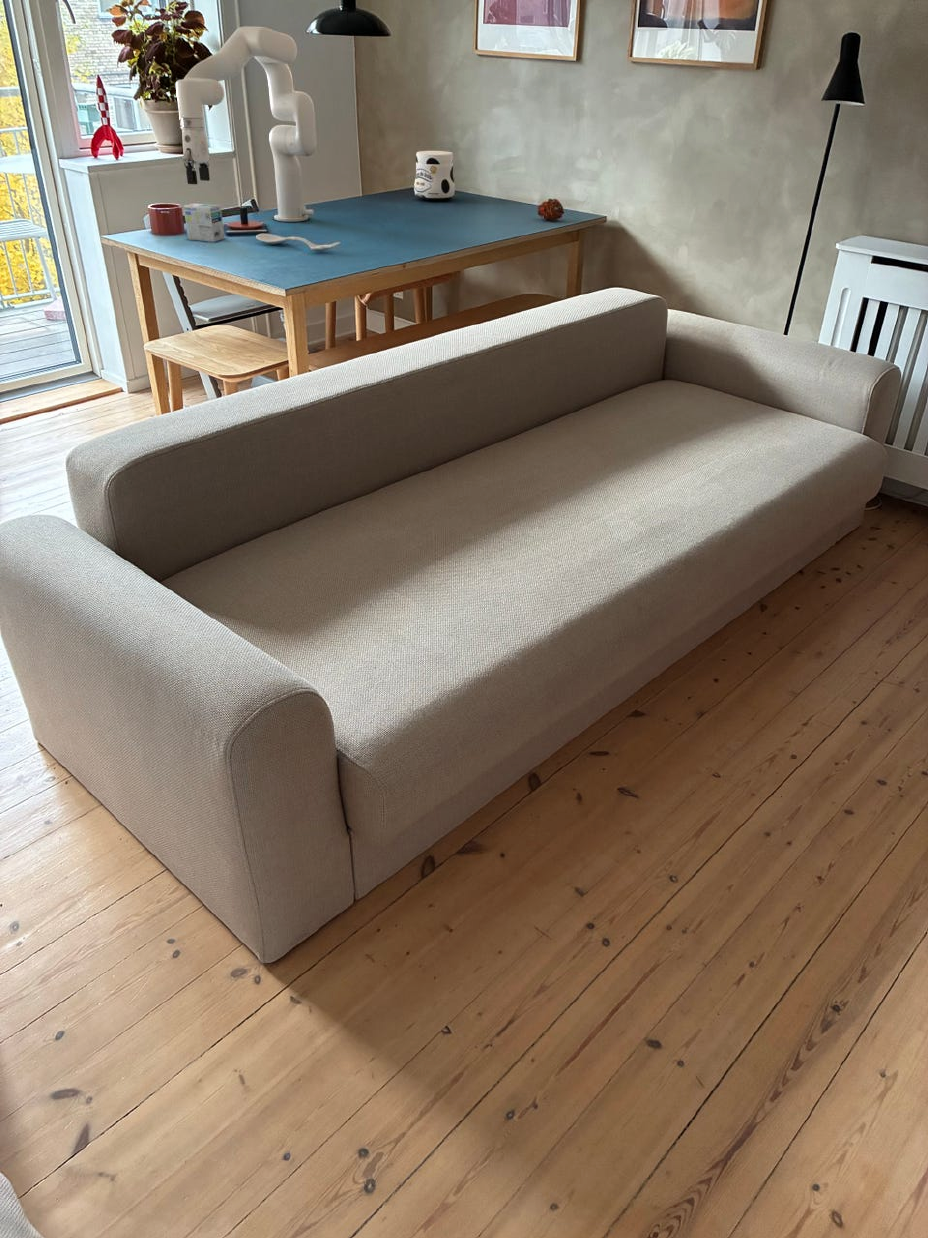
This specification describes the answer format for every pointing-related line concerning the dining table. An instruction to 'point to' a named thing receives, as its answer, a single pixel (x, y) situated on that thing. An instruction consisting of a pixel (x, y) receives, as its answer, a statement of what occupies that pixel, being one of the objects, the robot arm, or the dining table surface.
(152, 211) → the pot
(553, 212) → the red-brown bumpy ovoid
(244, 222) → the pot lid
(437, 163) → the milk container
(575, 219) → the dining table surface
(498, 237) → the dining table surface
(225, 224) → the blue-grey flat slab
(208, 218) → the light bulb box
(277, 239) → the spoon
